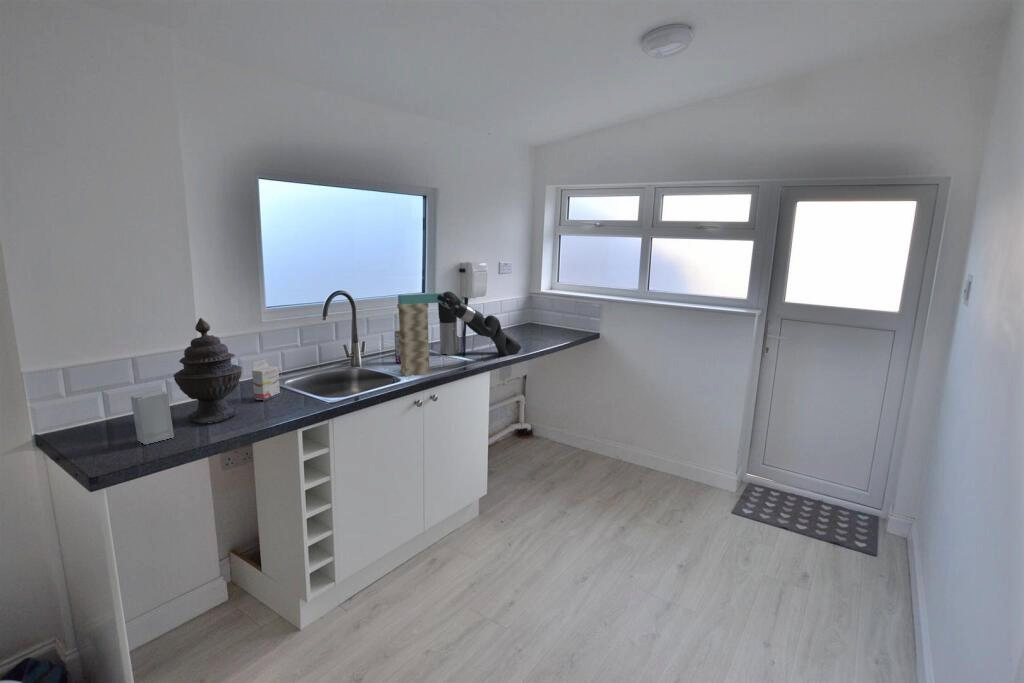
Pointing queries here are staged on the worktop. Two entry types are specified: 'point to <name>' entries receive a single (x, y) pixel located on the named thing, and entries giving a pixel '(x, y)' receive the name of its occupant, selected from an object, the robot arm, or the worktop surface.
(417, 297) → the rod
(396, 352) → the candy bar box
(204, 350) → the decorative urn
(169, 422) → the skincare box
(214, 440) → the worktop surface
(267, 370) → the ink cartridge box
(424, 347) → the beige zigzag patterned block
